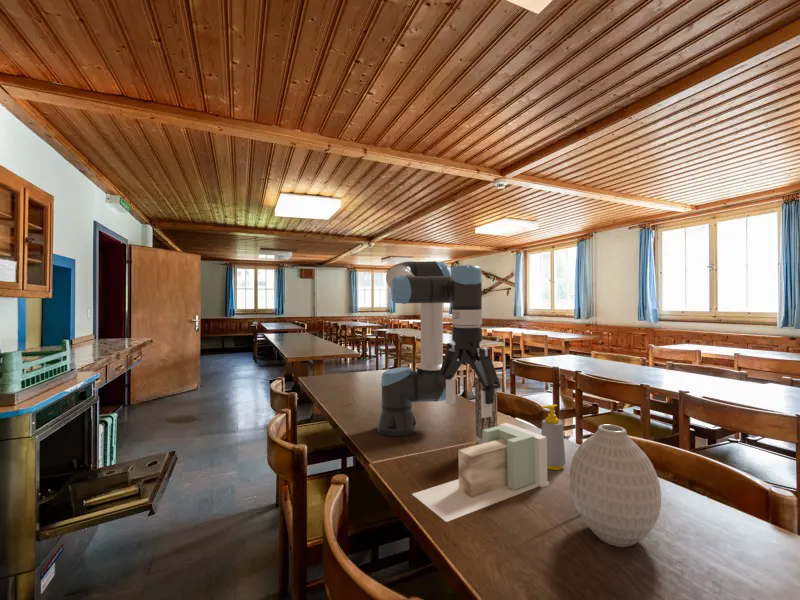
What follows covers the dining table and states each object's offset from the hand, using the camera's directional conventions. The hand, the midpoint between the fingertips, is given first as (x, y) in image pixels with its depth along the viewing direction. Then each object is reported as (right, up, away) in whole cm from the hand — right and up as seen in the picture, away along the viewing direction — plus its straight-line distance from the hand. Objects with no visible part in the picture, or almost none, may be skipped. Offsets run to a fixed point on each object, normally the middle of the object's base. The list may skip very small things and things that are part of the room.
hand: (467, 409), depth 94 cm
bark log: (+11, -22, +25) cm, 34 cm away
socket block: (+12, -20, +6) cm, 24 cm away
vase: (+27, -21, -18) cm, 38 cm away
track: (+4, -21, +1) cm, 21 cm away
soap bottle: (+28, -21, +15) cm, 38 cm away
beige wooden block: (+5, -20, +2) cm, 21 cm away
